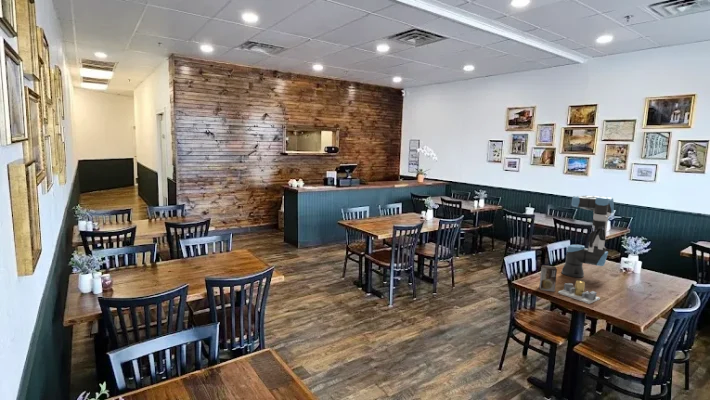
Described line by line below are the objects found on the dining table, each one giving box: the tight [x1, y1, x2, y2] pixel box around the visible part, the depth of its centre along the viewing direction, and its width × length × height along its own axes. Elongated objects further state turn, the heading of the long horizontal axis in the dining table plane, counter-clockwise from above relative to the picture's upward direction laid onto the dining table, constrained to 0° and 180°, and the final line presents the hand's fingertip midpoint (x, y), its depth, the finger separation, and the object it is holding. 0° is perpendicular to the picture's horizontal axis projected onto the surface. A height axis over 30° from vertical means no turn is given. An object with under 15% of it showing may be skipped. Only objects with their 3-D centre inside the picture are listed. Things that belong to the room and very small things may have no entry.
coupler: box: [574, 279, 586, 296], centre depth 258 cm, size 5×5×9 cm
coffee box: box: [539, 264, 558, 292], centre depth 268 cm, size 9×6×16 cm
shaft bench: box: [557, 282, 601, 305], centre depth 258 cm, size 20×14×6 cm
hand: (595, 250), depth 265 cm, fingers open, 13 cm apart
